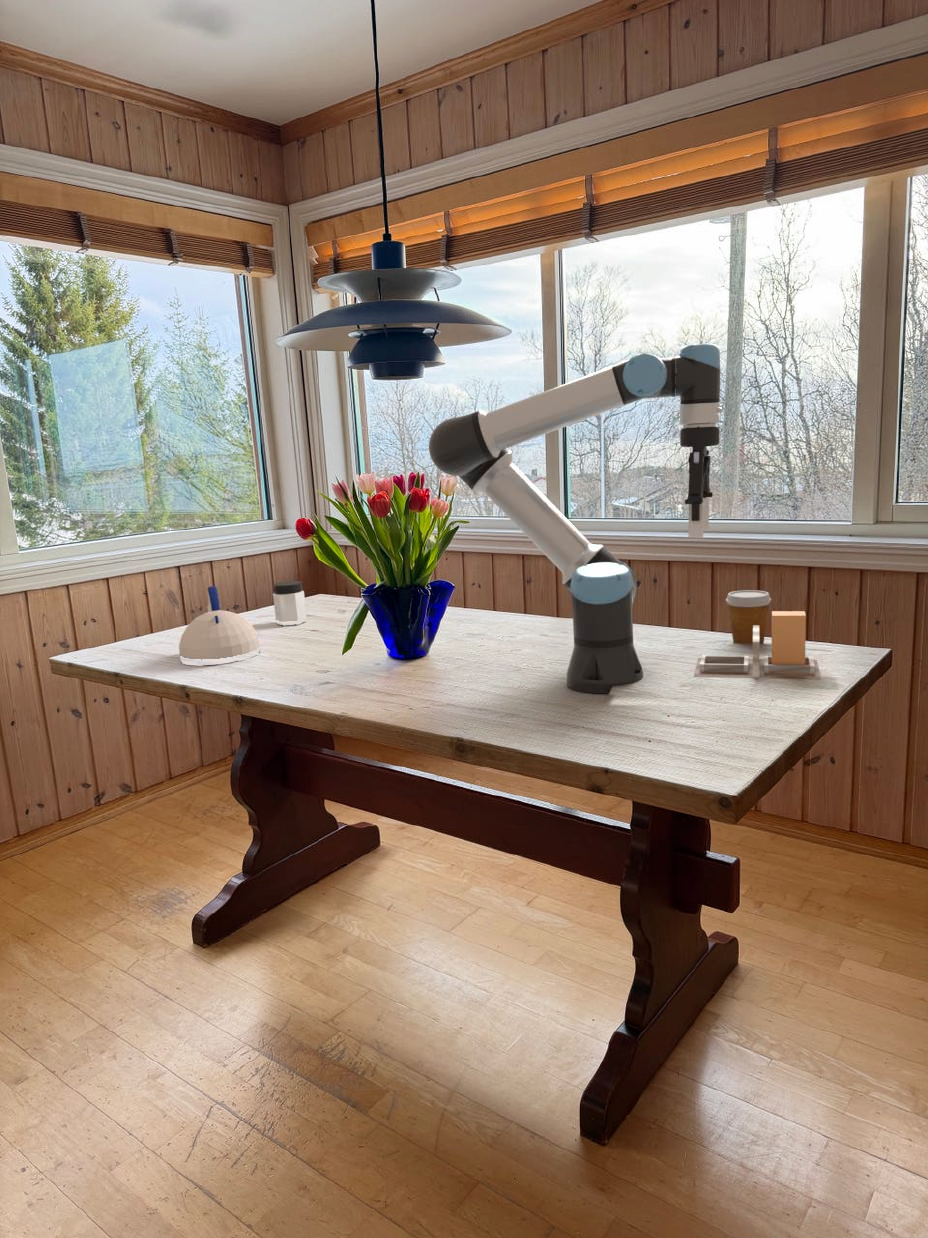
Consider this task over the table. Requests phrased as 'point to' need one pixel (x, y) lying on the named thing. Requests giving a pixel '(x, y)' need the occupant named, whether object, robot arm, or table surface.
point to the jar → (289, 601)
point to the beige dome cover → (217, 633)
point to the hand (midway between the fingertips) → (699, 533)
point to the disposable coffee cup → (748, 614)
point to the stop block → (788, 637)
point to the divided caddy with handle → (754, 666)
